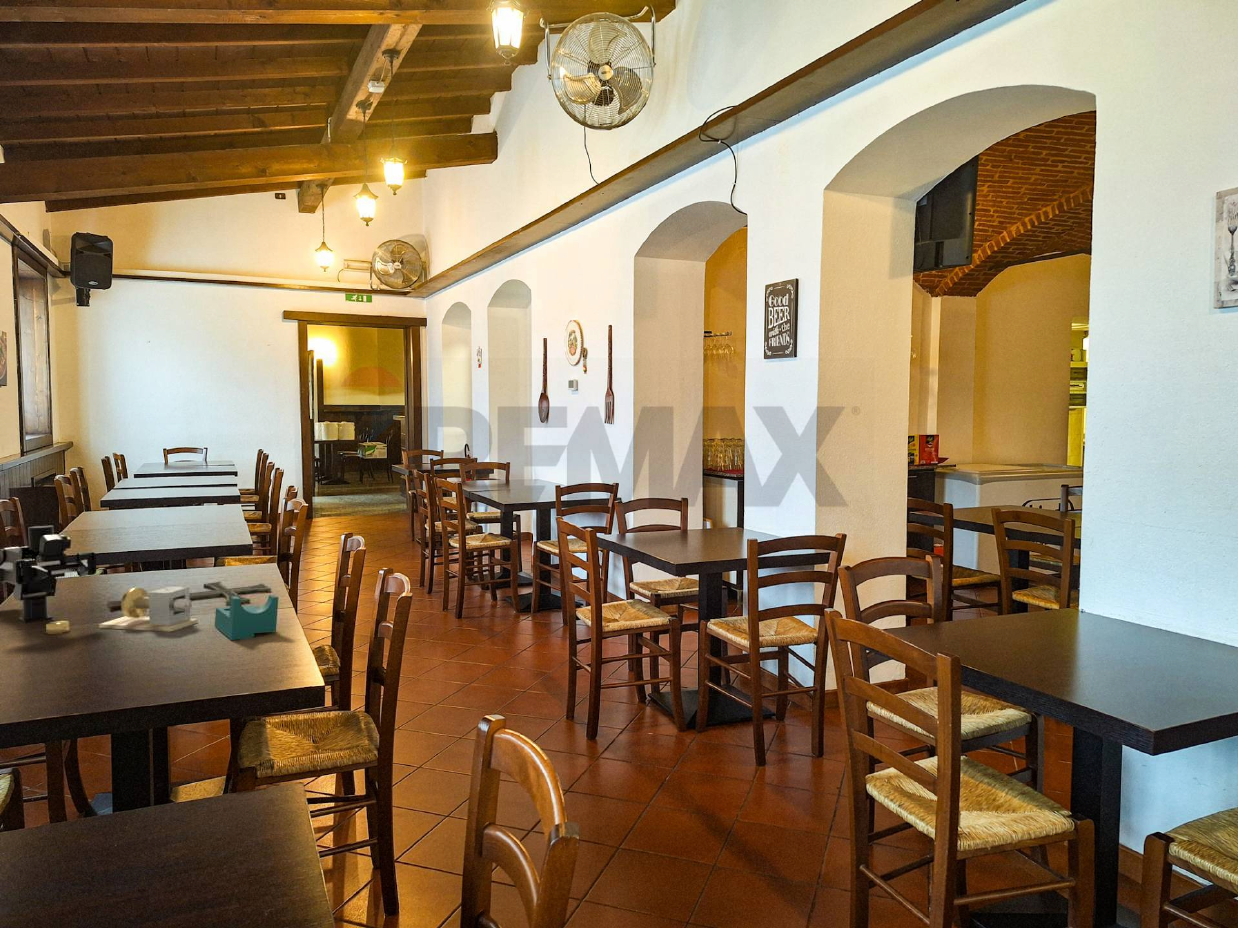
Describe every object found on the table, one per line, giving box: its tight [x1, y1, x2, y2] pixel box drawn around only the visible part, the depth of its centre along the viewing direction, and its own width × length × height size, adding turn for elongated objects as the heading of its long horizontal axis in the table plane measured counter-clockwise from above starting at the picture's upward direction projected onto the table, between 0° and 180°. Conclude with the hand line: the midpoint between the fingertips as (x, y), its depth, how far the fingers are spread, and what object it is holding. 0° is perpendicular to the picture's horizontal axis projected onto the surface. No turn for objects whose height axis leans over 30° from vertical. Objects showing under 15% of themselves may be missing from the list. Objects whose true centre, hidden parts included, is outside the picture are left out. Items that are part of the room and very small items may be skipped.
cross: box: [106, 580, 272, 612], centre depth 262 cm, size 35×2×45 cm
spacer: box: [45, 620, 70, 635], centre depth 222 cm, size 5×5×2 cm
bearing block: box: [148, 586, 191, 627], centre depth 227 cm, size 6×8×9 cm
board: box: [98, 615, 198, 632], centre depth 229 cm, size 22×10×1 cm, turn 80°
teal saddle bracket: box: [214, 594, 279, 641], centre depth 223 cm, size 18×11×10 cm, turn 38°
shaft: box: [120, 587, 193, 618], centre depth 228 cm, size 17×8×8 cm, turn 80°
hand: (67, 571), depth 218 cm, fingers open, 9 cm apart
